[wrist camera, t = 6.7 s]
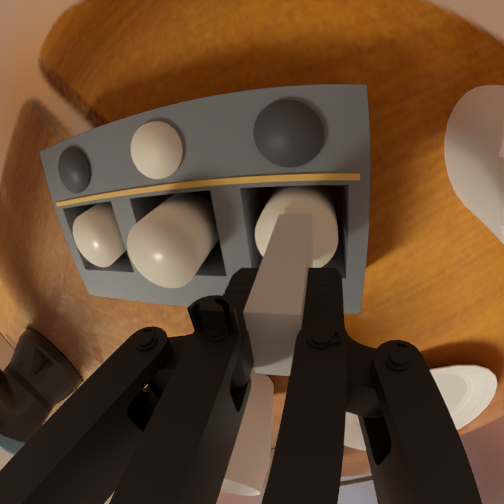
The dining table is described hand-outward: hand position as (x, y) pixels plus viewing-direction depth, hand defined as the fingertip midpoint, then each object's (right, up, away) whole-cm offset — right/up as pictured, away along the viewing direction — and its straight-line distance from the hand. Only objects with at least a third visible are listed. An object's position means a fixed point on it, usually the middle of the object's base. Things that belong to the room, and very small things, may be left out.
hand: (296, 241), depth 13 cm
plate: (+17, -18, +13) cm, 28 cm away
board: (-5, +3, +5) cm, 8 cm away
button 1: (-12, +2, +7) cm, 14 cm away
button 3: (+1, +2, +3) cm, 4 cm away
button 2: (-6, +1, +4) cm, 7 cm away
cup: (-3, -14, +15) cm, 21 cm away
